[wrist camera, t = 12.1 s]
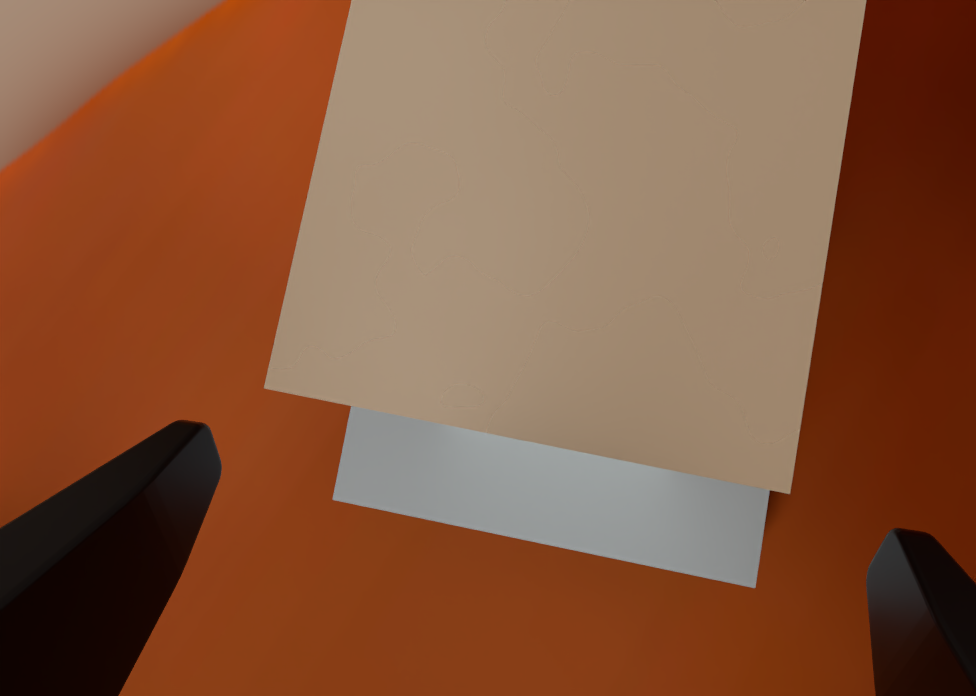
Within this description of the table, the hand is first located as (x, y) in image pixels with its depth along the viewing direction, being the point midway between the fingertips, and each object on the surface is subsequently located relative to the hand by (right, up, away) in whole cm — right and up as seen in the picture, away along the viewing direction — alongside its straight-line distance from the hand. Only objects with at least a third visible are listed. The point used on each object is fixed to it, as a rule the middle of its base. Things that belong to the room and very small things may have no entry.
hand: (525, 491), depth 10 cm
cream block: (+2, +2, +11) cm, 12 cm away
